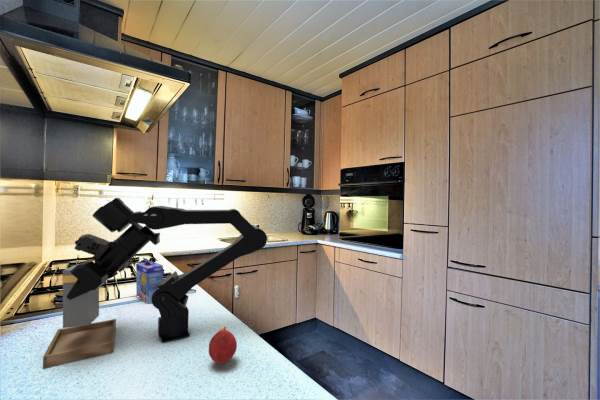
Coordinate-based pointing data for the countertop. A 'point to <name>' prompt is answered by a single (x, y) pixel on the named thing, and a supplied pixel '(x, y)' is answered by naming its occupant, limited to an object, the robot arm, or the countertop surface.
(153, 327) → the countertop surface
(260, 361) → the countertop surface
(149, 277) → the ink cartridge box
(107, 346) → the tray
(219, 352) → the onion
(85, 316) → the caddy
